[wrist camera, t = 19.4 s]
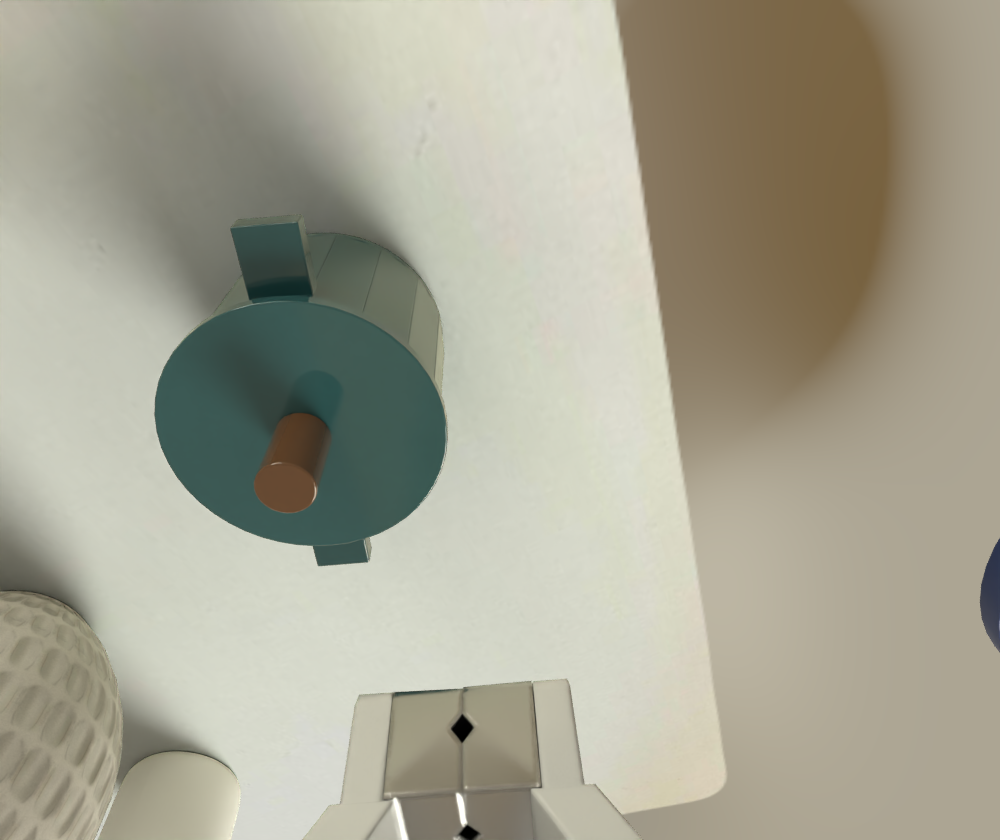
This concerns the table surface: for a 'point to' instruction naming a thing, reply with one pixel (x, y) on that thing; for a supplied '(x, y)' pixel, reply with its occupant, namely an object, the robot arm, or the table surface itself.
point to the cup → (175, 800)
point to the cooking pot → (337, 298)
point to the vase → (54, 722)
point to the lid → (301, 420)
